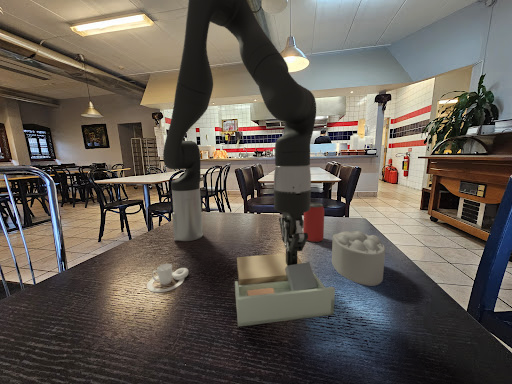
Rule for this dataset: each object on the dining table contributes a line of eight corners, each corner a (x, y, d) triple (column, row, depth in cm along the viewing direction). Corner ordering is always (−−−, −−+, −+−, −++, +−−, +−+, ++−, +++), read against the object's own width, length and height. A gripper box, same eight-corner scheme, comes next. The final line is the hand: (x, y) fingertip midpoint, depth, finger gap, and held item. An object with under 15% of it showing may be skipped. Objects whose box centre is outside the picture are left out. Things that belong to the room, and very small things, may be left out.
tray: (237, 326, 36) (236, 299, 35) (235, 294, 44) (234, 272, 44) (333, 314, 38) (335, 288, 38) (314, 286, 47) (314, 264, 46)
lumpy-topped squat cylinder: (365, 257, 60) (367, 227, 58) (395, 285, 47) (399, 247, 45) (327, 258, 59) (328, 228, 58) (348, 286, 47) (350, 248, 45)
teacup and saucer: (190, 272, 54) (189, 256, 54) (185, 291, 47) (184, 273, 46) (153, 275, 53) (151, 260, 52) (141, 296, 45) (139, 278, 44)
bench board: (240, 292, 45) (239, 279, 44) (237, 268, 55) (236, 257, 54) (308, 285, 47) (309, 272, 47) (294, 263, 57) (294, 252, 56)
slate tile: (291, 293, 43) (294, 291, 42) (284, 269, 46) (287, 265, 45) (314, 289, 45) (317, 286, 43) (306, 265, 48) (309, 261, 46)
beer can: (324, 243, 69) (325, 206, 67) (303, 242, 71) (304, 206, 69) (322, 235, 76) (323, 202, 74) (303, 234, 77) (303, 201, 75)
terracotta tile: (247, 290, 41) (247, 299, 42) (250, 308, 37) (251, 318, 37) (272, 287, 42) (272, 296, 43) (279, 304, 37) (279, 315, 38)
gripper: (268, 184, 51) (268, 253, 54) (283, 193, 38) (282, 284, 41) (298, 183, 52) (297, 251, 55) (323, 191, 39) (320, 280, 42)
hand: (291, 265), depth 48 cm, fingers closed
